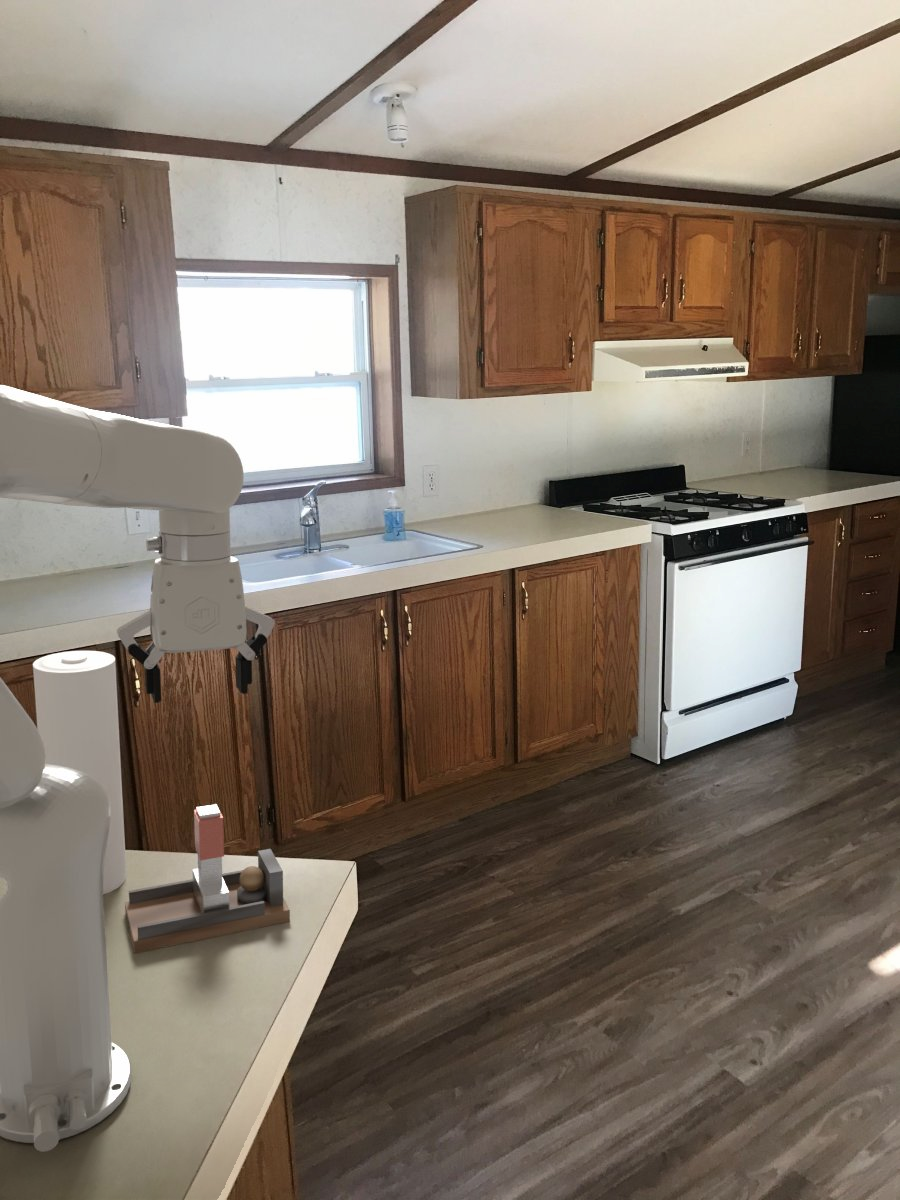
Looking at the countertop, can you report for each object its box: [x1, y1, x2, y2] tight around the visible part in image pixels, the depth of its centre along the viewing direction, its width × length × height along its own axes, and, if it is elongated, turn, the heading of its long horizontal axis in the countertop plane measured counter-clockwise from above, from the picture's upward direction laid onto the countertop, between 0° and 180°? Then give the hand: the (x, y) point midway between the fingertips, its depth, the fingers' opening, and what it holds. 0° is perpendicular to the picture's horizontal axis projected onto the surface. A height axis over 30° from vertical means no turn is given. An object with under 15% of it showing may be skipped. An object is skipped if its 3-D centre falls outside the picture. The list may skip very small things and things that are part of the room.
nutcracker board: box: [124, 848, 291, 954], centre depth 117 cm, size 9×18×6 cm, turn 114°
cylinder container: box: [32, 650, 127, 896], centre depth 122 cm, size 9×9×30 cm
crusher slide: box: [192, 803, 229, 913], centre depth 116 cm, size 7×3×12 cm, turn 24°
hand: (199, 694), depth 111 cm, fingers open, 9 cm apart
